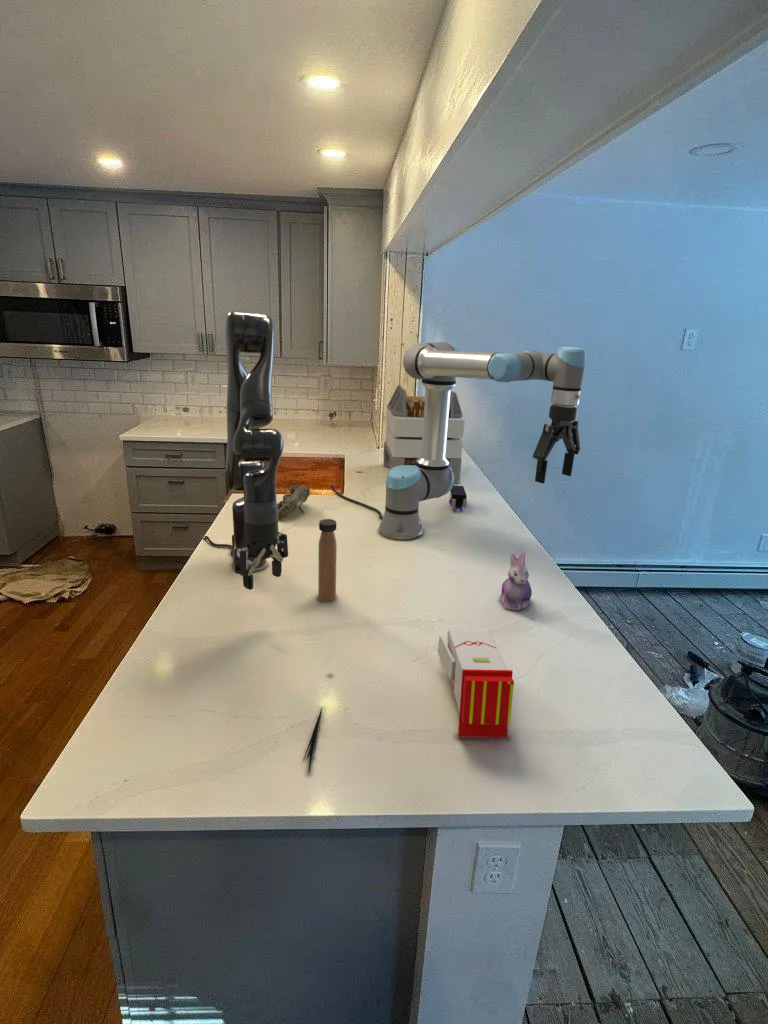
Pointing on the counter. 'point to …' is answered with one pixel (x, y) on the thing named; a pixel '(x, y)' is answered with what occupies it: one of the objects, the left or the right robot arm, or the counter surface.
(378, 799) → the counter surface
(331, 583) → the bottle
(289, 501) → the fossil
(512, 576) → the figurine
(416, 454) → the stacked slatted crates
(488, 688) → the toy
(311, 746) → the feather
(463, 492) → the figurine character
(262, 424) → the left robot arm
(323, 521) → the cap
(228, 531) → the counter surface
